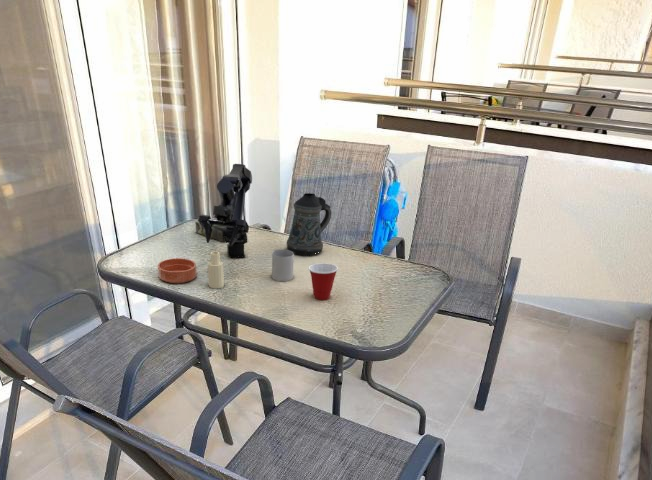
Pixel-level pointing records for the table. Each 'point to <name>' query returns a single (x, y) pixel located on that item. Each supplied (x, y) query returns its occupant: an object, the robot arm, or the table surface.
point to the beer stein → (308, 225)
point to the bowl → (177, 270)
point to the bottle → (215, 271)
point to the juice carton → (216, 231)
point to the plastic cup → (322, 279)
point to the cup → (282, 265)
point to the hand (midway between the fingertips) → (219, 244)
